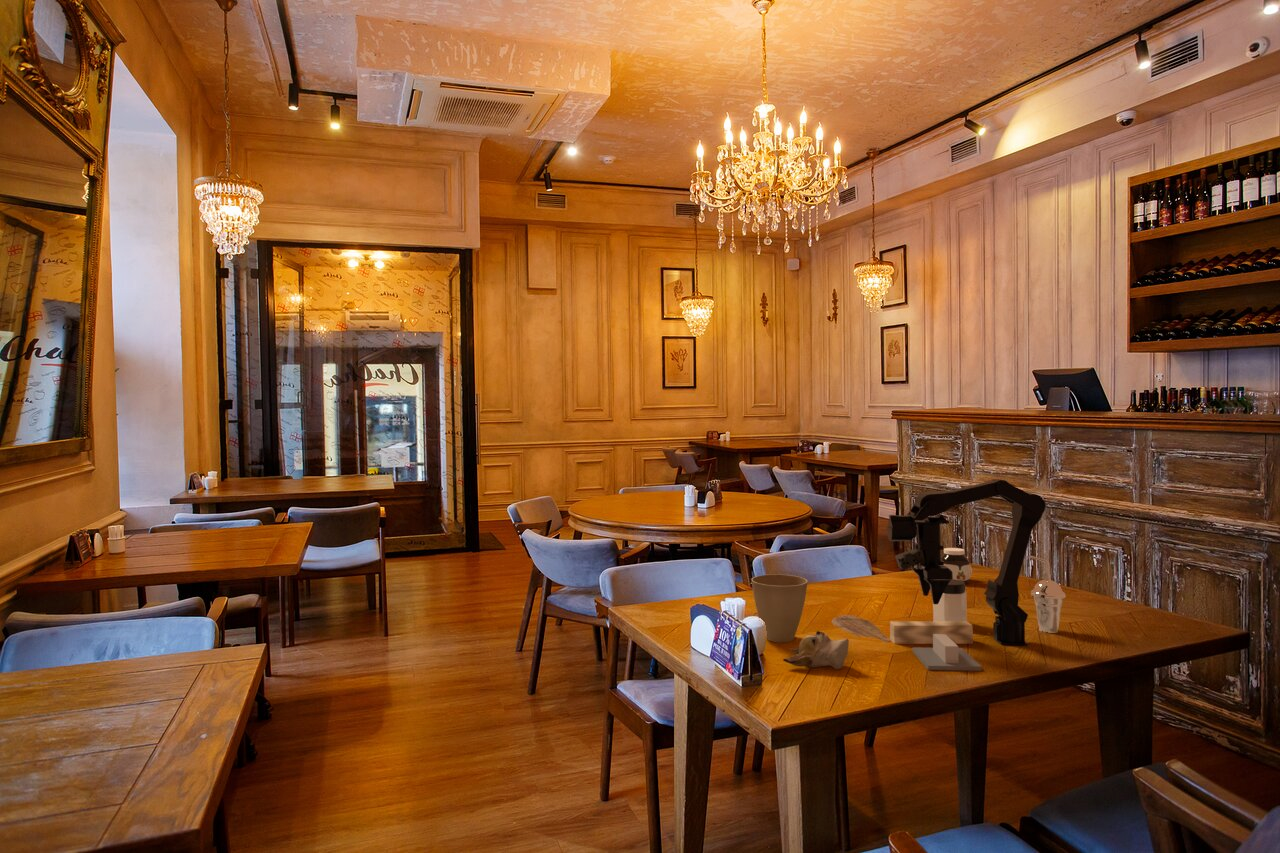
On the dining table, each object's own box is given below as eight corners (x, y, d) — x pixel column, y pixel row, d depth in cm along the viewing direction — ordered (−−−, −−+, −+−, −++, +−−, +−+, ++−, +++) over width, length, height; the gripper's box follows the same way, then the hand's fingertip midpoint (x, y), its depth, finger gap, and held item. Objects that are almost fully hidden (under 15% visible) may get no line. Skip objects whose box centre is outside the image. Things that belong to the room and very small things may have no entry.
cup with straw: (1045, 636, 201) (1044, 561, 201) (1022, 626, 210) (1021, 555, 210) (1073, 634, 202) (1072, 559, 202) (1050, 625, 211) (1049, 553, 211)
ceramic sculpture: (845, 638, 173) (780, 636, 179) (848, 676, 173) (783, 672, 179) (850, 626, 183) (789, 624, 189) (853, 662, 183) (792, 659, 188)
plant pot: (778, 650, 193) (777, 588, 193) (741, 636, 206) (740, 578, 205) (820, 640, 201) (819, 580, 201) (782, 627, 213) (781, 571, 213)
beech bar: (967, 640, 200) (966, 621, 200) (972, 644, 196) (972, 625, 196) (890, 640, 201) (889, 621, 201) (894, 644, 197) (894, 625, 197)
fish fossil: (905, 642, 199) (905, 638, 199) (872, 649, 196) (871, 645, 196) (852, 616, 224) (851, 612, 224) (821, 622, 221) (821, 618, 221)
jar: (973, 626, 212) (972, 583, 211) (950, 629, 209) (949, 586, 209) (950, 618, 220) (949, 577, 220) (927, 621, 217) (926, 579, 217)
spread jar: (942, 584, 264) (941, 551, 264) (935, 577, 275) (934, 545, 275) (978, 585, 262) (978, 551, 262) (969, 578, 273) (969, 546, 273)
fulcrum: (961, 651, 189) (961, 632, 189) (981, 670, 175) (981, 649, 175) (912, 651, 190) (912, 631, 190) (928, 670, 176) (927, 648, 176)
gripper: (889, 535, 208) (890, 591, 208) (906, 547, 190) (908, 608, 190) (931, 534, 207) (932, 591, 207) (952, 546, 189) (953, 608, 189)
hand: (930, 599), depth 198 cm, fingers open, 9 cm apart
